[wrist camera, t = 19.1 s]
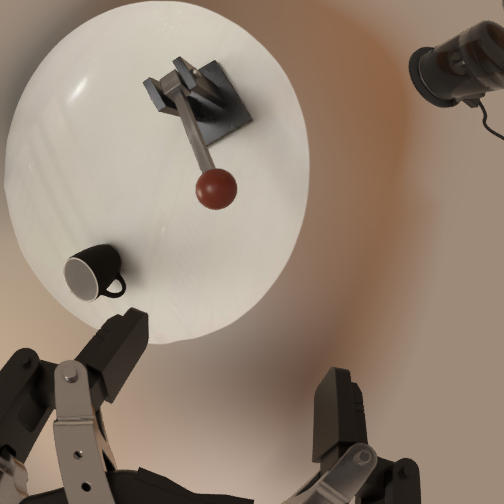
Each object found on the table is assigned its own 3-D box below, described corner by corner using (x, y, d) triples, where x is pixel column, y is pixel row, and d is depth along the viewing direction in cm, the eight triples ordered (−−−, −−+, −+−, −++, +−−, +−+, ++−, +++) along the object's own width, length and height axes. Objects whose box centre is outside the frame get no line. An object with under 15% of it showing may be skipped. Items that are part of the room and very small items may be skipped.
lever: (249, 201, 24) (233, 192, 21) (215, 219, 25) (195, 213, 22) (193, 78, 27) (177, 62, 23) (168, 94, 28) (151, 81, 24)
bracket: (253, 120, 38) (232, 103, 24) (203, 149, 41) (159, 150, 26) (216, 62, 35) (181, 24, 21) (170, 91, 38) (117, 71, 23)
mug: (88, 261, 52) (59, 281, 43) (100, 229, 49) (68, 247, 39) (129, 295, 53) (103, 321, 44) (144, 265, 50) (117, 290, 41)
